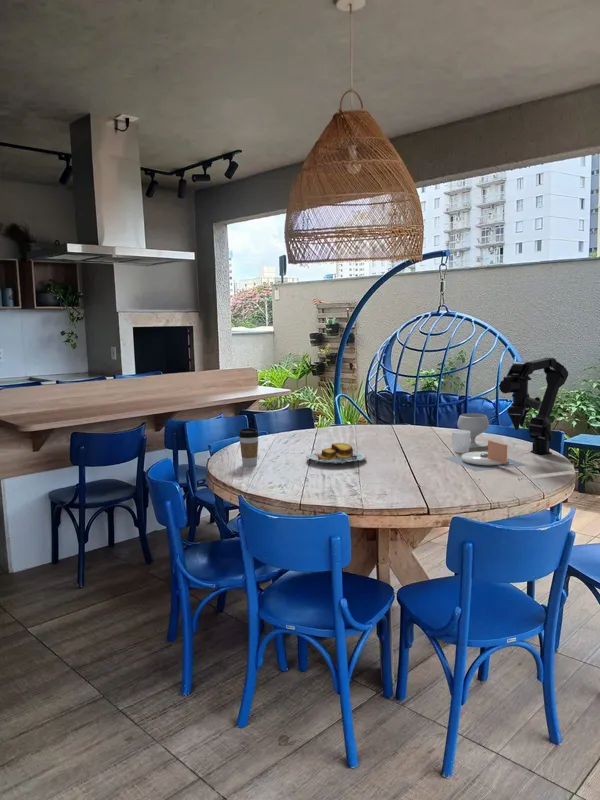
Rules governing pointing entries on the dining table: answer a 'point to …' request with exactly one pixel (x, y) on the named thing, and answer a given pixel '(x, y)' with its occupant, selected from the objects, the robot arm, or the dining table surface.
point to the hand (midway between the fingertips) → (519, 427)
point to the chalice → (473, 426)
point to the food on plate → (337, 454)
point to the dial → (488, 455)
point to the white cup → (461, 441)
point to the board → (484, 467)
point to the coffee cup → (249, 446)
